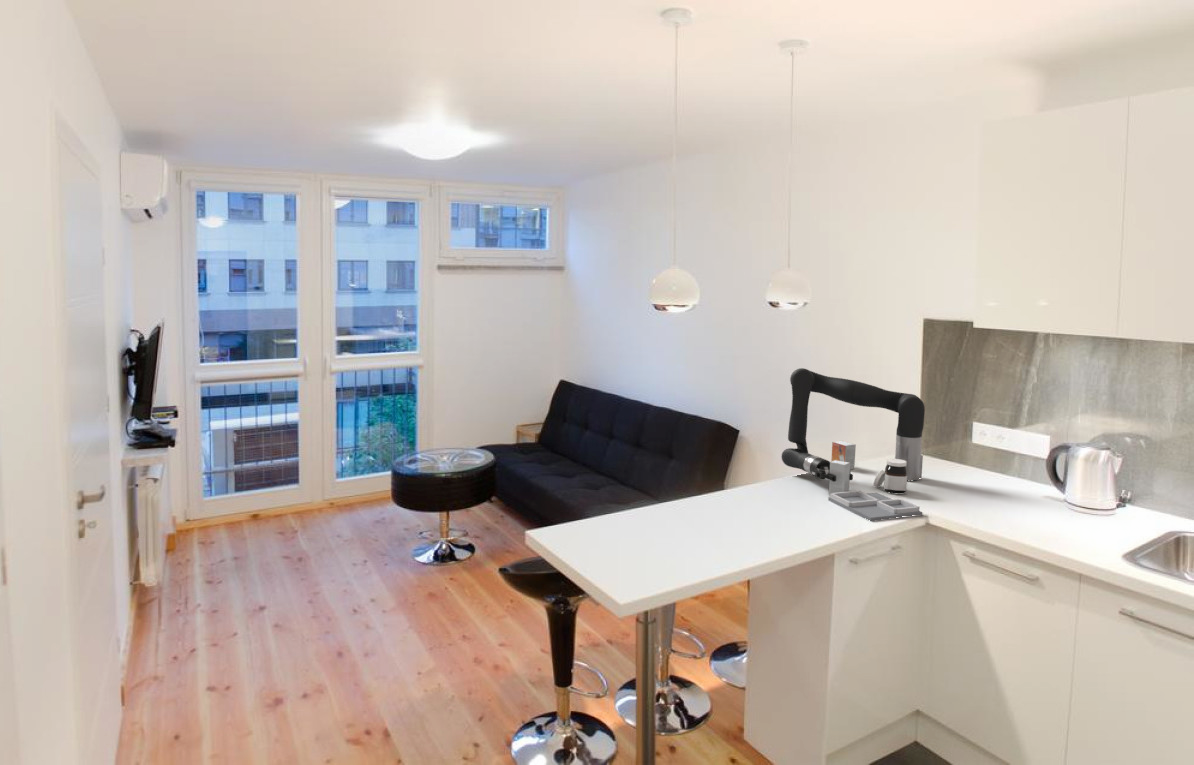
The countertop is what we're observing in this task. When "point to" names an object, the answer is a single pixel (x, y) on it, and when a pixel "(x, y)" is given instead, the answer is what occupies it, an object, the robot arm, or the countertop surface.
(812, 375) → the robot arm
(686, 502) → the countertop surface
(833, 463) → the skincare box
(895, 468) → the spread jar
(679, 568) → the countertop surface
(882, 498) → the compartment tray
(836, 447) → the small box
